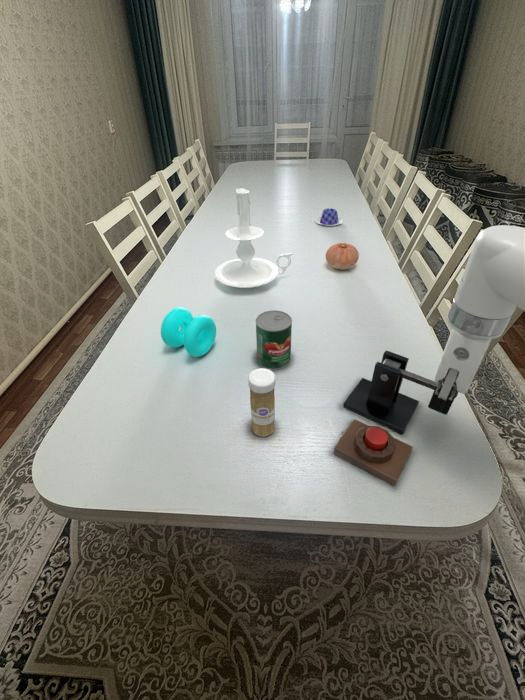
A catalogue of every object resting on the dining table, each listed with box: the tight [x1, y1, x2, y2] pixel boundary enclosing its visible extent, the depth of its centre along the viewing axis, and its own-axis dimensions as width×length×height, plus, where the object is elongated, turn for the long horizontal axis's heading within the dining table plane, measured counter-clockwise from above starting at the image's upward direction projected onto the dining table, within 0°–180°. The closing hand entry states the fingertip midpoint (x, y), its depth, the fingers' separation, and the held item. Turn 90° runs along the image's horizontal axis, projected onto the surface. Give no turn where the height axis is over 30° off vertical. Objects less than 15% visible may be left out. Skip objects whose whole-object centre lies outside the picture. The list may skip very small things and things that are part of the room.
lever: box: [383, 358, 459, 399], centre depth 63 cm, size 13×3×3 cm, turn 54°
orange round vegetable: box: [325, 242, 360, 271], centre depth 119 cm, size 11×11×8 cm
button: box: [364, 427, 388, 451], centre depth 61 cm, size 4×4×2 cm
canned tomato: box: [255, 310, 293, 371], centre depth 81 cm, size 8×8×11 cm
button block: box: [333, 418, 413, 487], centre depth 62 cm, size 11×8×4 cm
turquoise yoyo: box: [160, 306, 217, 358], centre depth 85 cm, size 10×10×10 cm
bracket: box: [343, 349, 420, 435], centre depth 68 cm, size 12×9×12 cm
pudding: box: [314, 208, 344, 227], centre depth 154 cm, size 12×12×5 cm
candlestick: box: [213, 187, 293, 289], centre depth 107 cm, size 21×25×28 cm
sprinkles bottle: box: [248, 367, 276, 438], centre depth 64 cm, size 5×5×14 cm
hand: (440, 402), depth 63 cm, fingers closed on lever, 3 cm apart
